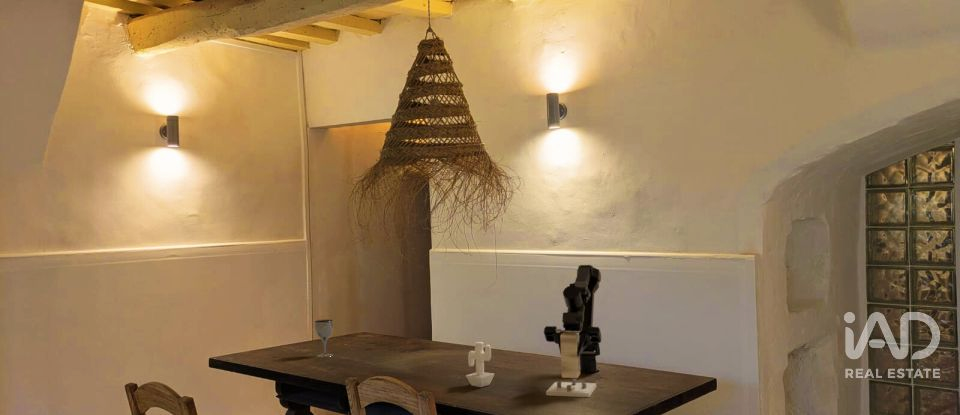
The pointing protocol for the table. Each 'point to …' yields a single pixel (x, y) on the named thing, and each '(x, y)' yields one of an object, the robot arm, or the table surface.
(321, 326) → the wine glass
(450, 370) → the table surface
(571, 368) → the maple block
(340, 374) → the table surface
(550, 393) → the stub base plate
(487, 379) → the figurine
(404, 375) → the table surface
